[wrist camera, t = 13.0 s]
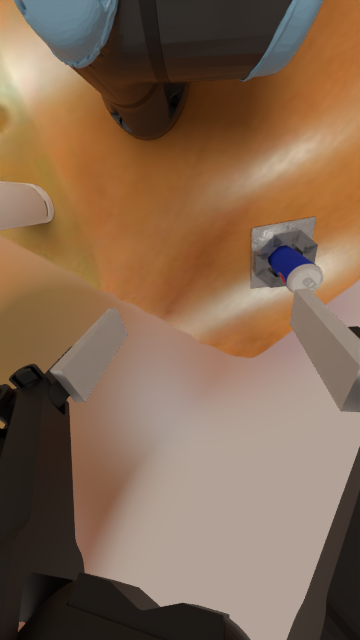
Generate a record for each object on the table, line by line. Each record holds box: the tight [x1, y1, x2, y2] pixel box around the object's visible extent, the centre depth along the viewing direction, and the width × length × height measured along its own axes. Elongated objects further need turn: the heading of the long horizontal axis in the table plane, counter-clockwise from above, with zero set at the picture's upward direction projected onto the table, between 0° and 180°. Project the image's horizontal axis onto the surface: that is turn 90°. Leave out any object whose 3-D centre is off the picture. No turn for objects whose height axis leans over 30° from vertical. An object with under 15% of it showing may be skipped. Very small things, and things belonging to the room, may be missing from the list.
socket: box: [251, 216, 318, 288], centre depth 41 cm, size 14×12×4 cm
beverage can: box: [268, 245, 323, 293], centre depth 35 cm, size 5×5×15 cm
